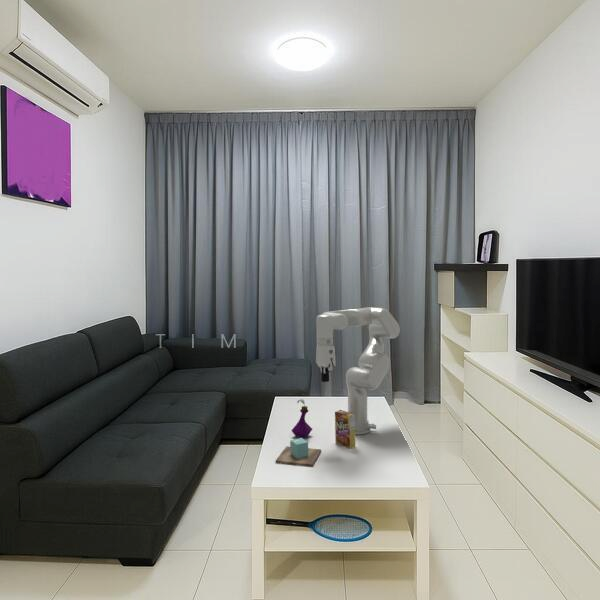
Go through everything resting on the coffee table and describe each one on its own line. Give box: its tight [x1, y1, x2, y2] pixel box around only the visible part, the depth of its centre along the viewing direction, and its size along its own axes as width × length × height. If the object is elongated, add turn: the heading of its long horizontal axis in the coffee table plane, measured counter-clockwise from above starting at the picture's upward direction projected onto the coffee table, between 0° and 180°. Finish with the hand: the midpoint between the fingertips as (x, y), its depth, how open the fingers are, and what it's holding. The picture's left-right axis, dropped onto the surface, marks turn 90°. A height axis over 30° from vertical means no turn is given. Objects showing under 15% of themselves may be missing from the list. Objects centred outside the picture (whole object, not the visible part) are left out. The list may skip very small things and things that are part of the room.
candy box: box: [334, 409, 356, 449], centre depth 210 cm, size 9×4×15 cm, turn 45°
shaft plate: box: [274, 445, 322, 468], centre depth 197 cm, size 16×16×4 cm
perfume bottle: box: [291, 398, 313, 439], centre depth 221 cm, size 8×8×18 cm
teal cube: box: [289, 437, 309, 458], centre depth 197 cm, size 6×6×6 cm
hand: (325, 381), depth 211 cm, fingers closed
